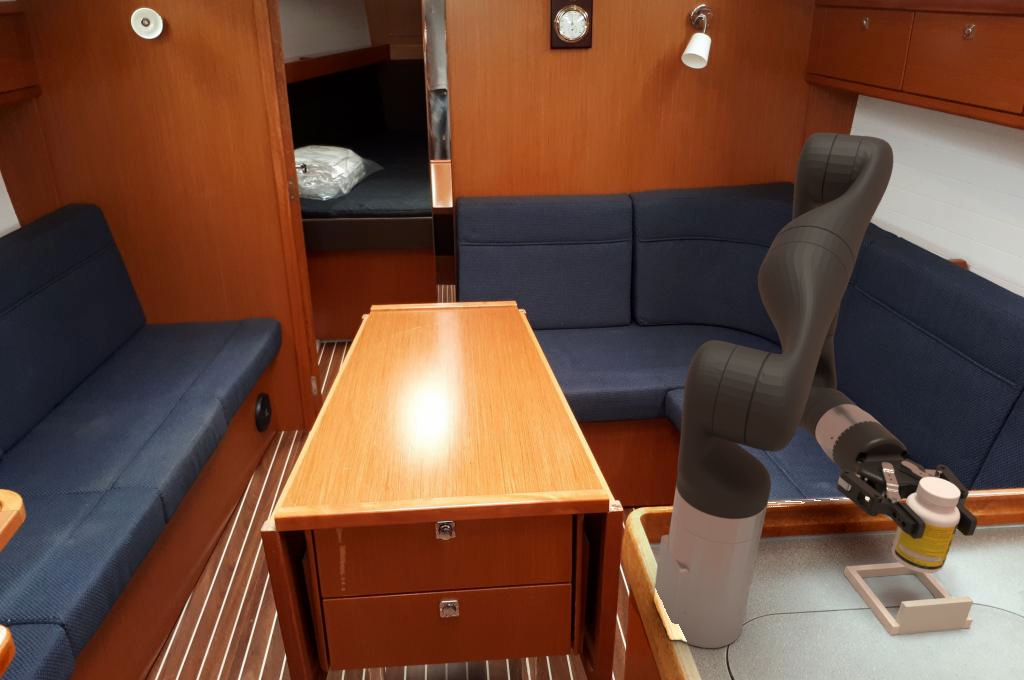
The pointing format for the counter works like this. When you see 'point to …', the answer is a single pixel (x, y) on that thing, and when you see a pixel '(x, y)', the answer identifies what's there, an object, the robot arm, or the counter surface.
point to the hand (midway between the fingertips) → (946, 530)
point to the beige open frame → (912, 602)
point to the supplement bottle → (929, 526)
